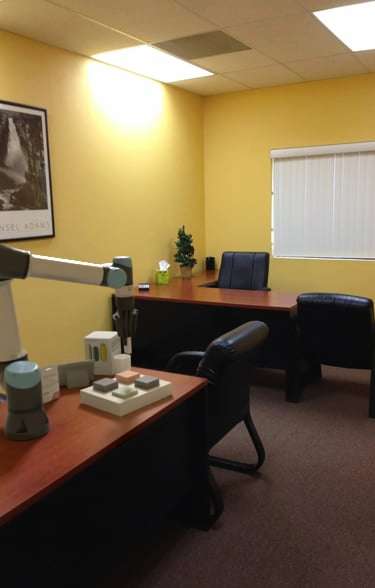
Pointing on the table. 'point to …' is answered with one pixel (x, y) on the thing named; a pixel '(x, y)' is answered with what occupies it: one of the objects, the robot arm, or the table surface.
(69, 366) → the digital clock
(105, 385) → the charcoal key
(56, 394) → the ink cartridge box
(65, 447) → the table surface
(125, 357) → the white cup
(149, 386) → the charcoal key
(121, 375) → the key terracotta
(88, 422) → the table surface
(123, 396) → the key green
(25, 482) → the table surface
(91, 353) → the supplement box
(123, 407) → the keypad
